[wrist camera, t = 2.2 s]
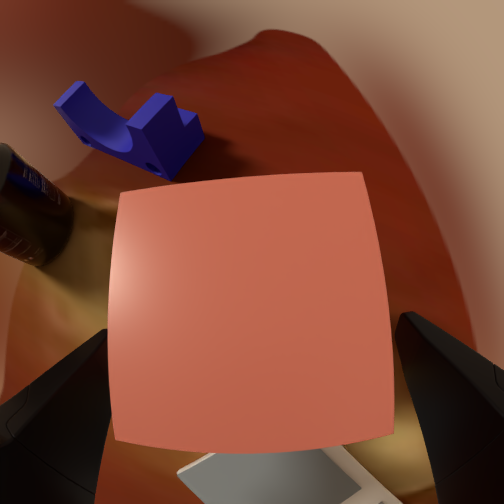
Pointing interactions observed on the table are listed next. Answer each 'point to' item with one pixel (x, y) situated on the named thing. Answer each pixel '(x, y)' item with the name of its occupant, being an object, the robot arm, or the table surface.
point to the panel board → (284, 478)
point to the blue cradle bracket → (134, 130)
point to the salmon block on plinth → (249, 316)
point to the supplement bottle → (31, 211)
